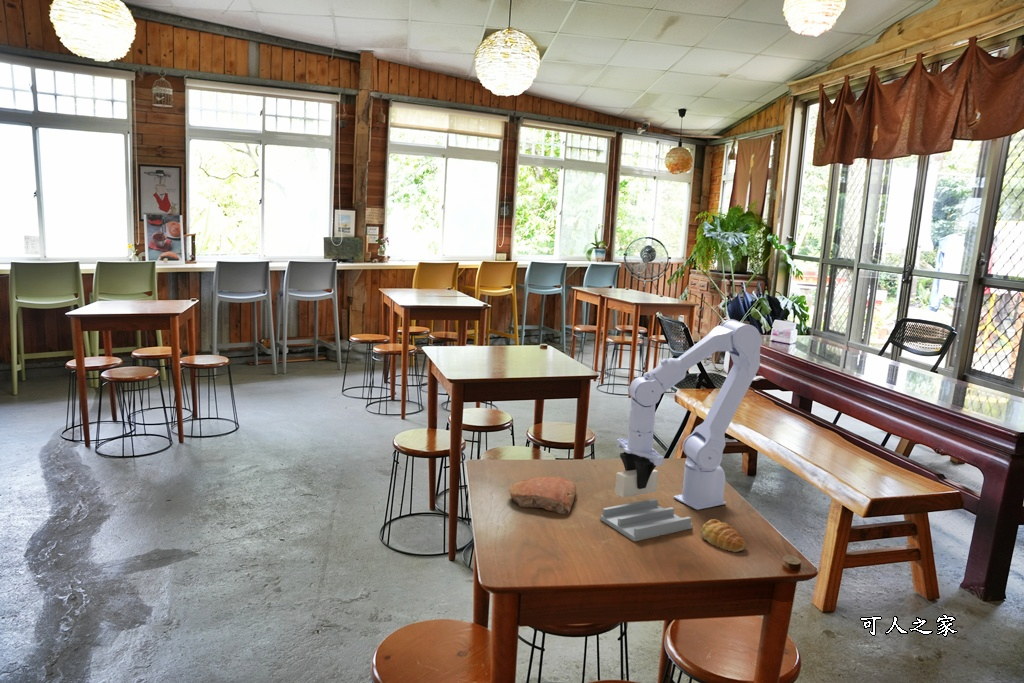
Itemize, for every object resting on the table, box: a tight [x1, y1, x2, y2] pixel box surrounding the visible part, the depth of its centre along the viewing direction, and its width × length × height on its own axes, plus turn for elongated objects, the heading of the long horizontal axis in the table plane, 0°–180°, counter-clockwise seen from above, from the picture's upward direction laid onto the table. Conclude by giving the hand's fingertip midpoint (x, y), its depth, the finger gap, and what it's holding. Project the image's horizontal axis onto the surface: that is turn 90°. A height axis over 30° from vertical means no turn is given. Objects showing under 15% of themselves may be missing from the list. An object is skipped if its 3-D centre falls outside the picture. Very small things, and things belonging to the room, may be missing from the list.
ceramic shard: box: [509, 476, 577, 515], centre depth 161 cm, size 15×6×15 cm
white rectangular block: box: [614, 468, 659, 499], centre depth 162 cm, size 10×3×5 cm, turn 120°
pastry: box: [700, 518, 747, 553], centre depth 143 cm, size 9×7×4 cm
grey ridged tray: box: [599, 498, 693, 542], centre depth 150 cm, size 16×12×2 cm
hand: (636, 485), depth 162 cm, fingers closed on white rectangular block, 3 cm apart
